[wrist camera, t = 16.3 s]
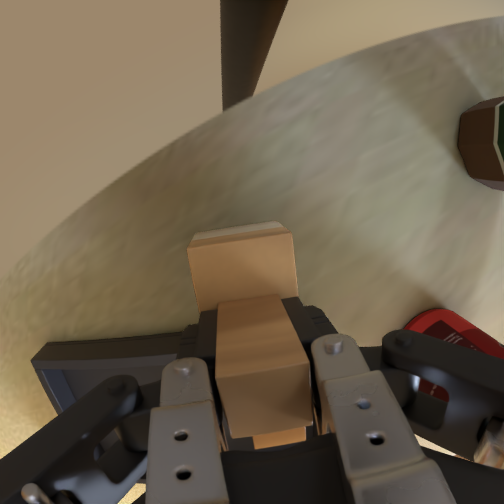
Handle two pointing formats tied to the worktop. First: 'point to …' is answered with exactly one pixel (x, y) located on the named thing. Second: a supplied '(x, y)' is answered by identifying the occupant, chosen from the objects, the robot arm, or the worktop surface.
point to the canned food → (452, 340)
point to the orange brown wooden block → (279, 438)
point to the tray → (118, 363)
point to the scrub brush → (253, 326)
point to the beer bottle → (484, 142)
